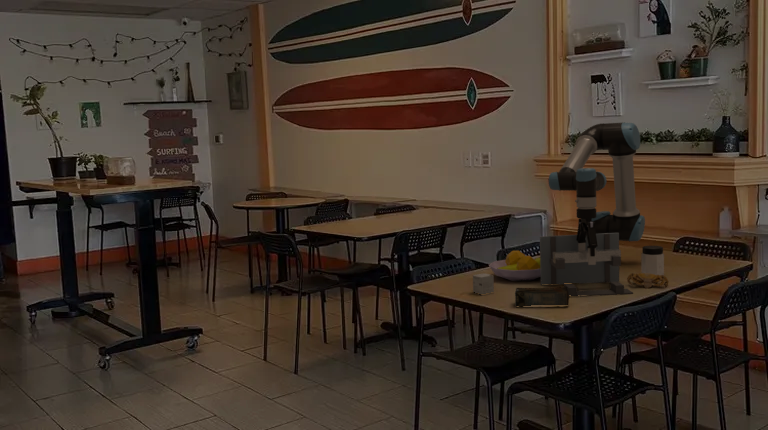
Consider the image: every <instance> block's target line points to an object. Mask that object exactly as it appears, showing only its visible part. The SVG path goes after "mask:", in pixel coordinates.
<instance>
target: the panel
mask: <svg viewBox="0 0 768 430" xmlns="http://www.w3.org/2000/svg"><path fill="white" fill-rule="evenodd" d="M596 238H597V245H598V246H597V247H596V250H604V249H619V250H620V241H619V233H602V234H596ZM576 239H577V234H567V235H565V234H564V235H563V234H561V235H546V236H543V235H540V236H539V253H540V254H539V257H540V271H541V277H540V286H543V285H542V284H559V285H564V283H579V284H595V283H596V284H597V283H610V282H616V281H618V282H620V267H621V266H622V265H621V264H622V263H621V262H622V255H621V256H612V261H598V262H596V265H588V262H577V263H565V259H557V264H555V263H554V262H553V252H563V251H578V241H577V240H576ZM585 240H586V243H585V250H588V248H587V246H589V245H588V240H587V236H586V238H585Z"/></svg>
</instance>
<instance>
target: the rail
mask: <svg viewBox="0 0 768 430" xmlns="http://www.w3.org/2000/svg"><path fill="white" fill-rule="evenodd" d="M612 256H621V257H622V250H621V249H620V248H619V249H604V250H596V262H598V261H612ZM557 259H565V263H577V262H588V250H583V251H563V252H553V262H554V263H555V264H557Z"/></svg>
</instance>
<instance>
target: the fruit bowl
mask: <svg viewBox="0 0 768 430" xmlns="http://www.w3.org/2000/svg"><path fill="white" fill-rule="evenodd" d="M488 266H489V268H490V269H491V271H492V272H493V273H494V276H497V277H501V278H502V279H506V280H508V281H512V282H519V281H521V280H522V281H534V280H537V279H538V278H541V271H540V256H539V257H536V258H533V257H532V256H531V255H526V254H525V253H523V252H522V251H520V250H518V249H517V250H512V251H510V252H509V253H508V254H507V255H506V257H505V259H501V260H495V261H492V262H491V263H490V264H488Z"/></svg>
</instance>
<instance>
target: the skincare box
mask: <svg viewBox="0 0 768 430" xmlns="http://www.w3.org/2000/svg"><path fill="white" fill-rule="evenodd" d="M494 276H495V275H492V274H489V273H485V272H483V273H478V274H473V275H472V292H475V293H474V294H476V293H479V294H486V293H491V292H494V291H495V290H494V289H495V288H494V287H495V286H494V285H495V283H494V279H495V278H494ZM494 293H495V292H494ZM479 294H478V295H479Z"/></svg>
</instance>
